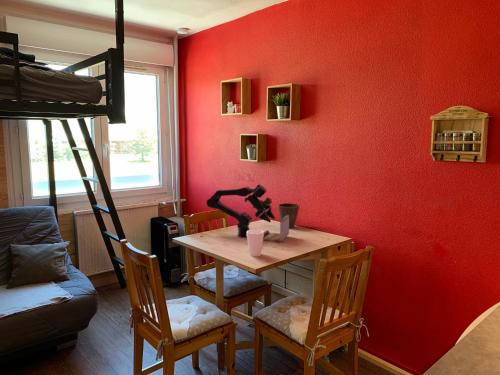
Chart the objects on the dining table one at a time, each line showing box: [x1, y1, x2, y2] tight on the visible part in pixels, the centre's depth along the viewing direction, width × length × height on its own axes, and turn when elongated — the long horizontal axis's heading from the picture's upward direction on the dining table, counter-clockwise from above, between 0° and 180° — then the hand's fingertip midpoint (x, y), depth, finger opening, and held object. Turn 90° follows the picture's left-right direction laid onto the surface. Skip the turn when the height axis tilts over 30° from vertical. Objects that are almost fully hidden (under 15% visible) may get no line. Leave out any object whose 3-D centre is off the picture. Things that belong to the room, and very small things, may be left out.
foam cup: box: [246, 229, 265, 257], centre depth 207 cm, size 10×9×13 cm
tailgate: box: [279, 215, 290, 242], centre depth 237 cm, size 2×16×12 cm, turn 160°
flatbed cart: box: [263, 229, 282, 244], centre depth 240 cm, size 13×16×3 cm
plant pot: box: [278, 202, 300, 229], centre depth 271 cm, size 15×15×16 cm
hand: (272, 220), depth 239 cm, fingers open, 9 cm apart
